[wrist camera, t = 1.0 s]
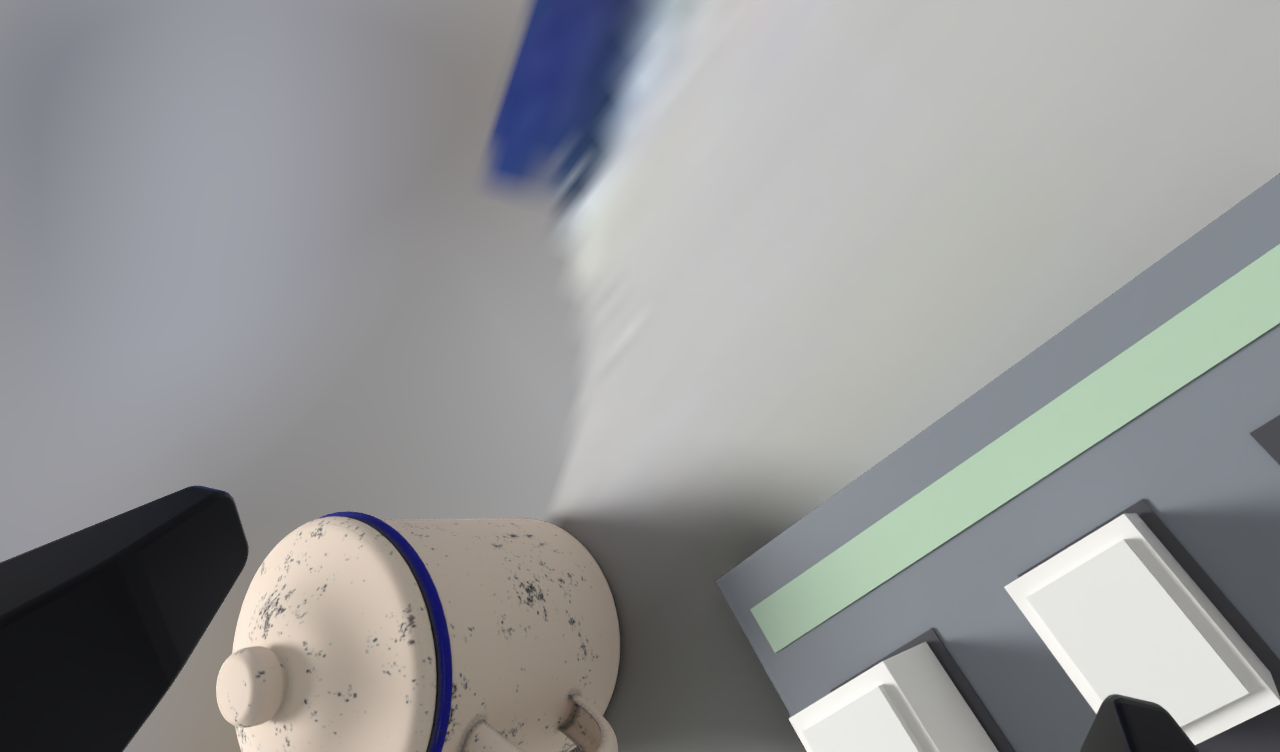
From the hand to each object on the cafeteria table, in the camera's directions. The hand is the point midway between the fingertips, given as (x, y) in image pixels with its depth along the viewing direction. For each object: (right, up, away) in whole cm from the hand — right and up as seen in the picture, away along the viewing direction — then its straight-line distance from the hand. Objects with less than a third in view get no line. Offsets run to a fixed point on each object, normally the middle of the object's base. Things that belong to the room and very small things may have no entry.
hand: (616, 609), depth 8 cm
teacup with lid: (-3, -8, +22) cm, 24 cm away
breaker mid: (+12, -3, +11) cm, 16 cm away
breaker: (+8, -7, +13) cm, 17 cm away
